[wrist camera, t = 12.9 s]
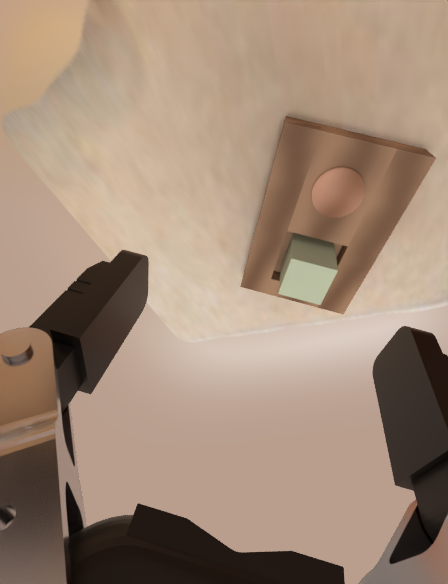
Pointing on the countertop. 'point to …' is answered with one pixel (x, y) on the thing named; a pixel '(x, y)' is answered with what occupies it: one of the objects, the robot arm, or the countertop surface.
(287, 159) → the puzzle board
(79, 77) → the countertop surface
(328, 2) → the countertop surface
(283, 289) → the green block
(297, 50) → the countertop surface
